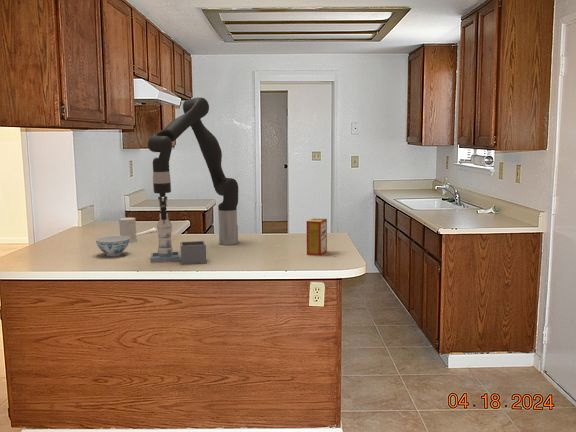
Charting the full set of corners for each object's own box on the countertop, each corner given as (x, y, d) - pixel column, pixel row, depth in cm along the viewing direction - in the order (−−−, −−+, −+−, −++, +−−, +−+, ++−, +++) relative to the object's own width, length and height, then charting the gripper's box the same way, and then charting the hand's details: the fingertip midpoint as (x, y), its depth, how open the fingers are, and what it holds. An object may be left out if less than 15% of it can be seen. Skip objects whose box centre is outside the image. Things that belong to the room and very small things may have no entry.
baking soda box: (320, 255, 266) (320, 220, 263) (306, 254, 268) (306, 220, 266) (326, 251, 274) (326, 217, 272) (313, 250, 277) (313, 217, 274)
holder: (204, 258, 263) (204, 240, 262) (206, 263, 254) (205, 244, 253) (180, 259, 261) (180, 242, 260) (181, 264, 252) (180, 246, 251)
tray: (179, 255, 270) (179, 251, 270) (180, 261, 259) (179, 256, 258) (151, 257, 267) (151, 252, 267) (150, 262, 256) (150, 258, 256)
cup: (132, 243, 302) (131, 220, 300) (117, 242, 303) (116, 219, 302) (139, 240, 310) (138, 217, 308) (125, 239, 311) (123, 217, 310)
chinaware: (95, 253, 277) (94, 237, 276) (127, 250, 283) (127, 234, 282) (98, 259, 264) (97, 242, 263) (132, 256, 270) (131, 239, 269)
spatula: (127, 240, 311) (126, 235, 310) (120, 240, 312) (120, 235, 312) (158, 232, 336) (158, 227, 336) (152, 231, 338) (152, 226, 337)
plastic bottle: (158, 256, 266) (156, 212, 263) (174, 256, 266) (172, 212, 264) (156, 259, 260) (154, 214, 257) (172, 259, 260) (170, 214, 257)
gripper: (170, 183, 252) (172, 220, 254) (170, 180, 265) (172, 215, 268) (152, 183, 250) (155, 221, 252) (153, 180, 264) (155, 216, 266)
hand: (163, 218), depth 260 cm, fingers open, 8 cm apart
